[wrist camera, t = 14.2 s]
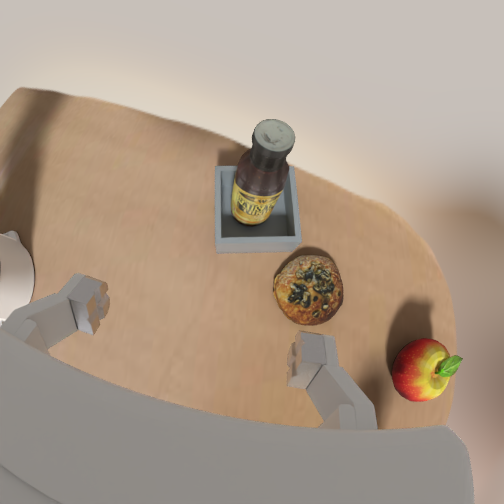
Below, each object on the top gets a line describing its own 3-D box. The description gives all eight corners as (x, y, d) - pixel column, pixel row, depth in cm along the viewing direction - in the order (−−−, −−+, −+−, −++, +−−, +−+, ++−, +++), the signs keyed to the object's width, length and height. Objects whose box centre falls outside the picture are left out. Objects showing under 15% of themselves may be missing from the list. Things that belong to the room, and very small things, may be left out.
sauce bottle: (230, 229, 44) (235, 161, 25) (229, 191, 45) (234, 109, 26) (273, 228, 44) (308, 163, 25) (270, 191, 46) (299, 111, 27)
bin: (216, 253, 44) (215, 243, 38) (216, 184, 46) (215, 166, 41) (292, 251, 45) (301, 241, 39) (286, 183, 48) (293, 166, 42)
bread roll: (331, 334, 43) (340, 333, 38) (263, 314, 44) (264, 311, 39) (348, 268, 46) (358, 259, 41) (284, 248, 47) (287, 238, 42)
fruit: (378, 349, 43) (412, 354, 33) (425, 329, 44) (462, 328, 34) (386, 405, 41) (419, 420, 31) (432, 381, 42) (467, 389, 32)
